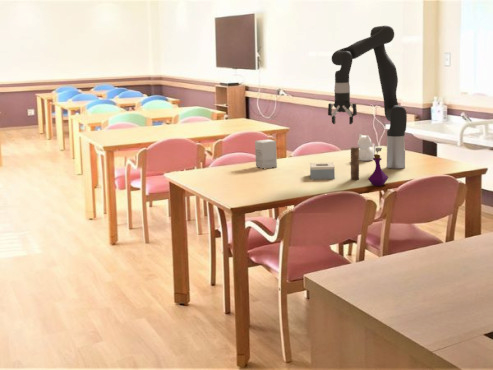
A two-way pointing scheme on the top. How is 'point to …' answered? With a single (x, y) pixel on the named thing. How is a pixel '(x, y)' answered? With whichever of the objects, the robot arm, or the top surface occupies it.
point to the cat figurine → (365, 148)
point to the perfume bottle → (378, 172)
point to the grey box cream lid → (322, 171)
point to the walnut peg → (354, 163)
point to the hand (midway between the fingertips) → (342, 124)
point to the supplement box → (265, 153)
